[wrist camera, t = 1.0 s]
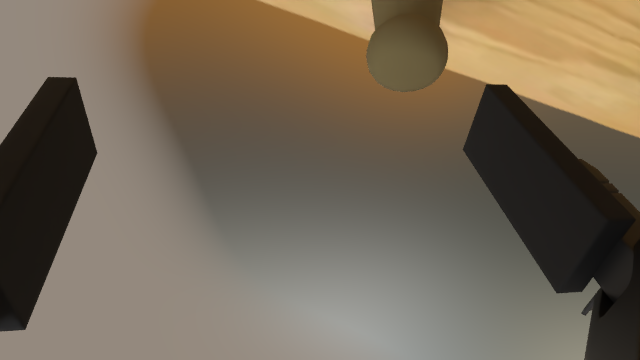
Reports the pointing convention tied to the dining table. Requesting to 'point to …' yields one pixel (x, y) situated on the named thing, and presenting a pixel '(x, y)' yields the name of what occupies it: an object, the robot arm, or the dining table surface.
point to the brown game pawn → (407, 44)
